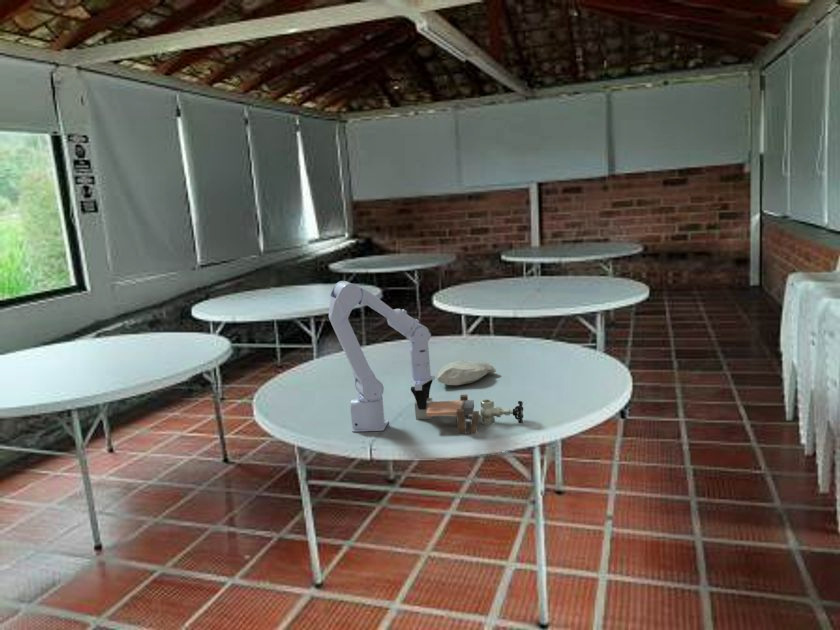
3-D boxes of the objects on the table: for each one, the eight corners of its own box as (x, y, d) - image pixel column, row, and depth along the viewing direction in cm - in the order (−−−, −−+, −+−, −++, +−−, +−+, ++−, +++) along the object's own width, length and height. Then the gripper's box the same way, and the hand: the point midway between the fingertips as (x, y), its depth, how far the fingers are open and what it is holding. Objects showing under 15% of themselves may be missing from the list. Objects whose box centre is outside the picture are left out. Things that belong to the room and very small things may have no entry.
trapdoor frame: (458, 433, 183) (456, 411, 182) (462, 415, 198) (460, 394, 197) (476, 433, 183) (474, 410, 181) (478, 414, 197) (477, 394, 196)
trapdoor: (426, 418, 187) (425, 411, 186) (430, 406, 196) (430, 400, 196) (472, 416, 185) (471, 409, 184) (474, 404, 194) (473, 398, 194)
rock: (500, 359, 239) (463, 368, 219) (501, 378, 239) (464, 389, 219) (456, 357, 250) (417, 365, 230) (457, 375, 251) (418, 385, 231)
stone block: (415, 419, 198) (414, 403, 197) (418, 413, 203) (416, 398, 202) (431, 418, 198) (430, 402, 197) (433, 413, 202) (432, 397, 201)
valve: (479, 426, 188) (521, 427, 185) (478, 404, 187) (520, 404, 183) (483, 418, 194) (523, 419, 191) (481, 397, 193) (522, 397, 190)
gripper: (430, 369, 190) (433, 413, 192) (436, 356, 204) (439, 398, 206) (406, 369, 191) (410, 414, 193) (413, 357, 205) (417, 399, 207)
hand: (423, 406), depth 200 cm, fingers open, 5 cm apart
